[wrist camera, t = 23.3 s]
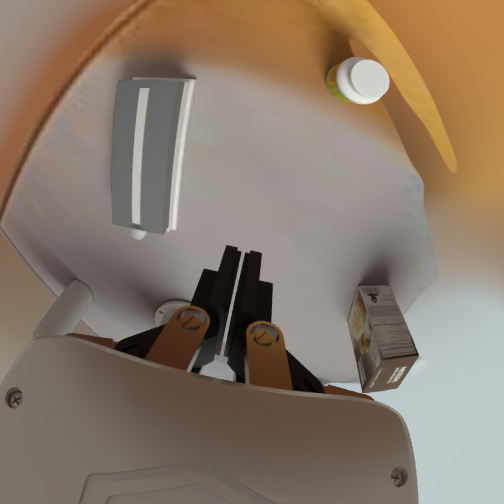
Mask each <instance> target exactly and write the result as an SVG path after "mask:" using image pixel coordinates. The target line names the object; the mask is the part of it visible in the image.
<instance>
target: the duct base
mask: <svg viewBox="0 0 504 504" xmlns="http://www.w3.org/2000/svg"><path fill="white" fill-rule="evenodd" d="M133 80H168V81H182V82H185V83H184V89H183V95H182V101H181V108H180V114H179V121H178V128H177V136H176V144H175V153H174V162H173V172H172V184H171V196H170V211H169V227H168V228H167V230H166V231H170V230H171V229H172V230H176V229H177V226H178V214H179V202H180V192H181V182H182V173H183V165H184V157H185V149H186V142H187V135H188V128H189V121H190V115H191V109H192V103H193V98H194V92H195V87H196V81H197V80H194V79H181V78H162V77H133Z"/></svg>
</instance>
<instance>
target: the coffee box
mask: <svg viewBox="0 0 504 504" xmlns="http://www.w3.org/2000/svg"><path fill="white" fill-rule="evenodd" d="M348 326H349V331H350V335H351V339H352V344H353V348H354V353H355V358H356V362H357V368H358V373H359V378H360V383H361V388H362V393H370V392H377V391H385V390H390V389H396V388H398V386H399V385H400V384H401V382H402V381H403V379H404V378H405V376H406V375H407V373H408V372H409V370H410V369H411V367H412V366H413V364H414V363H415V361H416V360H417V358H418V356H419V354H418V352H417V349H416V347H415V344H414V341H413V339H412V337H411V334H410V332H409V329H408V327H407V324H406V322H405V320H404V318H403V315H402V313H401V311H400V308H399V306H398V304H397V302H396V300H395V298H394V295H393V293H392V291H391V289H390V287H389V285H374V286H358V287H357V290H356V293H355V297H354V301H353V304H352V308H351V312H350V315H349V318H348Z"/></svg>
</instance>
